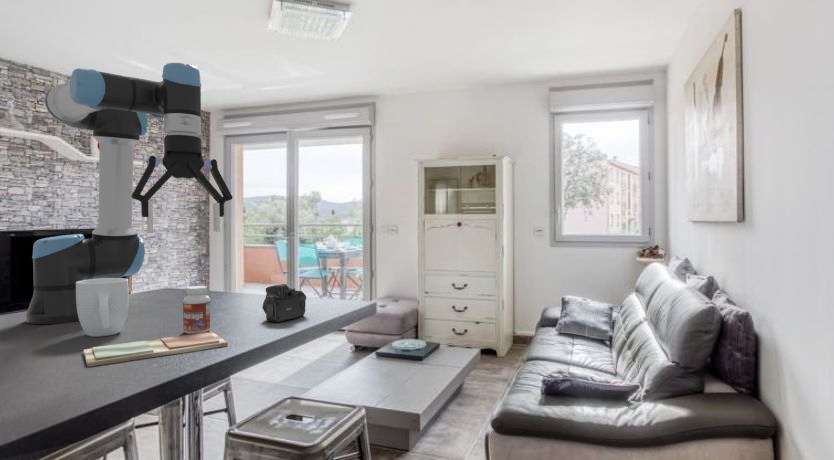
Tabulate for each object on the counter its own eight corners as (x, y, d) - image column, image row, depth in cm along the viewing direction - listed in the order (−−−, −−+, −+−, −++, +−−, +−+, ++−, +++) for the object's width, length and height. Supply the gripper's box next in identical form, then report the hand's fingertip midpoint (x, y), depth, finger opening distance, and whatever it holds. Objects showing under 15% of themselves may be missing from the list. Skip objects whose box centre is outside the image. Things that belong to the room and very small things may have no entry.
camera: (276, 314, 149) (275, 280, 148) (308, 315, 147) (308, 280, 147) (255, 323, 135) (254, 286, 135) (290, 324, 134) (290, 287, 134)
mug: (132, 338, 119) (131, 283, 119) (76, 345, 113) (75, 286, 113) (127, 326, 132) (127, 276, 131) (76, 332, 125) (75, 279, 125)
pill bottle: (178, 334, 123) (178, 289, 123) (189, 328, 129) (188, 285, 129) (204, 334, 123) (204, 288, 123) (214, 328, 129) (213, 285, 129)
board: (83, 353, 106) (83, 347, 106) (213, 335, 122) (212, 330, 122) (87, 366, 97) (87, 360, 97) (227, 345, 112) (227, 340, 112)
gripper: (119, 128, 102) (121, 233, 102) (245, 138, 116) (246, 231, 117) (116, 133, 108) (118, 233, 108) (236, 142, 122) (237, 230, 123)
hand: (184, 232), depth 113 cm, fingers open, 13 cm apart
